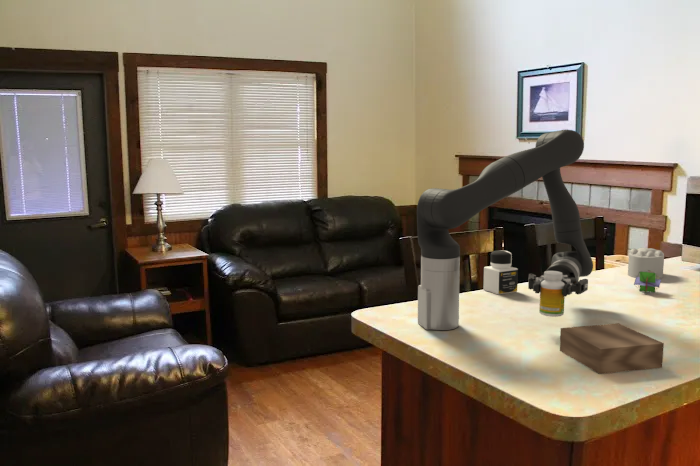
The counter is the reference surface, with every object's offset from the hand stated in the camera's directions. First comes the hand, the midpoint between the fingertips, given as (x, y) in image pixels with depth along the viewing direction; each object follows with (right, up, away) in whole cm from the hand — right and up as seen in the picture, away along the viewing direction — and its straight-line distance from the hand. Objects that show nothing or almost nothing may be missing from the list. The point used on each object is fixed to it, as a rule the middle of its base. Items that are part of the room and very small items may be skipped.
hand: (550, 290), depth 142 cm
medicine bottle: (0, -5, +46) cm, 47 cm away
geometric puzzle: (+42, -5, +43) cm, 60 cm away
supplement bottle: (+1, -6, +3) cm, 7 cm away
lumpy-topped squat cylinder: (+52, -1, +66) cm, 83 cm away
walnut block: (+8, -13, -12) cm, 19 cm away
